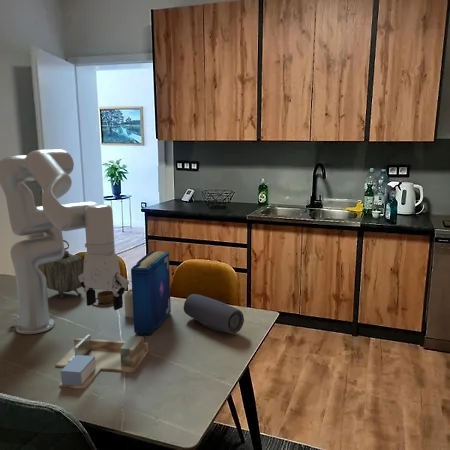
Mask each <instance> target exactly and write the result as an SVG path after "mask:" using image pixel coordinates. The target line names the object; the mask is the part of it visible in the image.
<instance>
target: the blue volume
mask: <svg viewBox="0 0 450 450" xmlns="http://www.w3.org/2000/svg"><path fill="white" fill-rule="evenodd" d="M135 264H136V265H133V266H132V267H131V268H130V276H131V279H130V280H131V289H132V298H133V317H134V318H133V333H135V334H138V335H143V336H144V335H151V334H152V333H153V332H154V331H155V330H157V329H158V328H159V327H160V326H161V325H162V324H163V322H164V321H165V320H166V319H167V318H168V316H169V315H170V314H171V311H172V309H171V280H170V277H171V276H170V252H168V251H166V252H164V251H160V250H159V251H154V250H152V251H150V252H149V253H147V254H145V255H143V257H142V258H140V259H139V260H138V261H137V262H136V263H135Z"/></svg>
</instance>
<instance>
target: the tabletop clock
mask: <svg viewBox="0 0 450 450" xmlns="http://www.w3.org/2000/svg"><path fill="white" fill-rule="evenodd" d="M63 243H66V245H67V247H66V248H65V247H64V256H63V258H62V259H61V260H59V261H56V262H52V263H48V264H43V269H44V270H43V271H44V272H43V273H44V275H45V277H46V282H47V289H49V290H52V291H56V292H58V293H59V294H60V293H61V295H60V296H59V298H60V299H63V298H65V296H64V293H71V292H72V291H73V292H75V293H76V294H77V297H82V293H81V292H79V291H78V289H80V288H83V287H82V286H81V282H80V280H79V278H78V276H79V275H81V274H83V268H84V259H83V258H82V257H81V256H80V255H76V254H72V253H71V254H70V252H69V251H68V249H69V248H70V244H69V242H68V241H67V240H65V239H63Z"/></svg>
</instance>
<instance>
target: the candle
mask: <svg viewBox="0 0 450 450" xmlns="http://www.w3.org/2000/svg"><path fill="white" fill-rule="evenodd" d="M123 296H124V300H123V301H124V316H125V317H126V318H129V319H134V317H133V298H132V288H131V289H128V290H126V291H125V292H124V294H123Z"/></svg>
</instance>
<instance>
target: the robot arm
mask: <svg viewBox="0 0 450 450" xmlns="http://www.w3.org/2000/svg"><path fill="white" fill-rule="evenodd" d="M74 164H75V163H74V159H73V157H72V156H71V154H70V153H69V152H68V151H67V150H64V149H36V150H33V151H30V152H29V153H28V154H21V155H18V154H17V155H9V156H5V157H3V158H1V159H0V188H1V189H2V191H3V194H4V196H5V199H6V206H7V212H8V218H9V223H10V228H11V231H12V232H13V234H14V235H16V236H19V237H26V236H33V235H40V234H43V236H41V237H35V238H34V237H33V238H29V239H24V240H20V241H17V242H15V243H14V244H13V245H12V247H11V249H10V259H11V262H12V265H13V268H14V274H15V281H16V283H15V284H16V291H17V302H18V313H19V314H17V313H12V314H11V316H10V322H13V323H15V322H16V323H17V324H16V325H15V331H16V332H17V334H21V335H34V334H40V333H43V332H46V331H49V330H52V328H53V327H54V326H55V320H54V319H52V318H51V317H50V311H49V310H50V309H49V299H48V297H49V296H48V288H47V282H46V277H45V275H44V272H43V271H42V270H41V269H40V268H39V267H40V266H44V264H48V263H52V262H56V261H59V260H61V259H62V258H63V256H64V248H65V242H63V240H64V237H63V232H69V231H76V230H81V229H85V241H86V242H85V243H84V247H85V248H86V252H85V253H84V259H83V263H84V268H83V274H81V275H79V276H78V278H79V280H80V282H81V286H82V287H81V288H83V292H84V293H85V297H86V306H88V307H90V306H91V305H92V304H95V303H96V302H97V299H96V298H97V297H96V296H97V295H96V290H101V291H112V292H113V294H114V295H115V296H114V297H113V302H112V303H113V304H114V306H113V310H114V311H118V310H120V309H121V308H124V307H123V305H124V302H123V301H124V300H123V295H124V294H125V293H126V292H127V291H128V286H129V284H130V281H129V280H128V279H126V278H125V277H124V276H122V275H121V267H120V261H119V256H118V255H117V252H116V251H115V250H116V249H115V247H116V246H115V230H114V216H113V207H112V206H111V205H110V204H106V203H98V202H95V201H82V202H80V201H79V202H71V203H65V204H63V203H61V202H60V201H59V199H60V198H62V197H63V196H64V195H65V194H67V193H68V192H69V190H70V189H71V187H72V178H71V176H70V174H71V173H72V172H73V170H74V166H75V165H74ZM32 181H33V182H35V181H36V183H37V184H38V185H39V186H40V187H41V188H42V191H43V192H42V195H41V205H40V206H39V205H37V206H36V203H35V198H34V197H35V196H34V193H33V191H32V190H31V188H29V187H28V185H27V184H25V183H24V182H32ZM92 306H93V305H92Z"/></svg>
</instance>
